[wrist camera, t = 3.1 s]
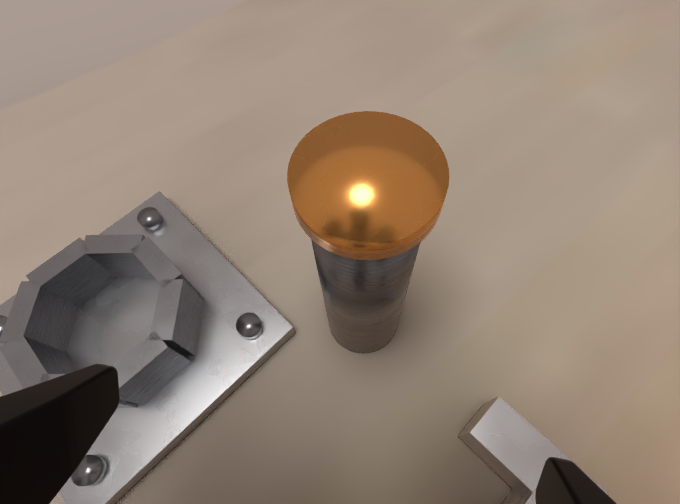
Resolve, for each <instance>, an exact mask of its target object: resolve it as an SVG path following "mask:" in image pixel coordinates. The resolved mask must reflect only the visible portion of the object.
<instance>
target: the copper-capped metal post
mask: <svg viewBox="0 0 680 504" xmlns="http://www.w3.org/2000/svg"><path fill="white" fill-rule="evenodd" d="M287 181H288V187H289V192H290V196H291V200H292V204H293V208H294V212H295V214H296V217H297V220H298V222H299V224H300V226H301V227H302V229H303V230H304V231H305V233H306V234H307V235H308V236H309V237H310V238H311V240H312V245H313V250H314V255H315V259H316V264H317V269H318V274H319V278H320V283H321V288H322V293H323V297H324V302H325V307H326V312H327V317H328V321H329V326H330V330H331V333H332V335H333V336H334V338H335V339H336V341H337V342H338V343H339V344H340V345H341V346H343V347H344V348H346V349H348V350H350V351H353V352H357V353H370V352H374V351H377V350H379V349H381V348H383V347H384V346H385V345H386V344H388V343H389V341H390V340H391V339H392V337H393V336H394V333H395V331H396V328H397V324H398V320H399V317H400V313H401V310H402V306H403V302H404V299H405V295H406V292H407V288H408V284H409V281H410V277H411V274H412V270H413V267H414V263H415V259H416V256H417V252H418V249H419V245H420V242H421V241H422V240H423V239H424V238H425V237H426V236H427V235H428V234H429V233H430V232H431V230H432V229H433V227H434V225H435V224H436V222H437V220H438V217H439V215H440V212H441V209H442V206H443V202H444V199H445V196H446V193H447V189H448V185H449V168H448V164H447V160H446V158H445V155H444V153H443V151H442V149H441V147H440V146H439V144H438V143H437V142H436V140H435V139H434V138H433V137H432V136H431V135H430V134H429V133H428V132H427V131H425V130H424V129H423V128H421V127H420V126H418V125H417V124H415V123H413V122H412V121H409V120H407V119H405V118H402V117H399V116H396V115H393V114H388V113H383V112H369V111H364V112H354V113H348V114H344V115H340V116H337V117H334V118H332V119H329V120H327V121H325V122H323V123H321V124H320V125H318V126H317V127H315V128H314V129H312V130H311V131H310V132H309V133H308V134H307V135H305V137H304V138H303V139H302V140H301V141H300V142H299V144H298V145H297V147H296V148H295V150H294V152H293V154H292V156H291V159H290V162H289V166H288V172H287Z"/></svg>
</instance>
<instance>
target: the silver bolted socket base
mask: <svg viewBox="0 0 680 504" xmlns="http://www.w3.org/2000/svg"><path fill="white" fill-rule="evenodd" d="M26 276H27V278H28V279H29V281H27V282H21V284H20V286H19V289H18V292H17V294H16V295H14V296H13V297H11V298H10V299H9V300H7V301H6V302H4V303H3V304H2V305H0V391H1V393H2V395H3V396H4V395H7V394H10V393H13V392H16V391H19V390H21V389H24V388H27V387H30V386H33V385H36V384H39V383H42V382H45V381H47V380H50V379H53V378H56V377H59V376H62V375H65V374H68V373H71V372H74V371H76V370H79V369H82V368H85V367H88V366H91V365H94V364H104V365H109V366H113V367H115V368H116V369H117V371H118V380H119V393H120V400H119V404H118V407H117V409H116V411H115V412H114V414H113V415H112V417H111V418H110V420H109V421H108V423H107V424H106V426H105V427H104V429H103V430H102V432H101V433H100V435H99V436H98V438H97V439H96V441H95V442H94V444H93V445H92V447H91V448H90V450H89V451H88V453H87V454H86V456H85V457H84V459H83V460H82V461H81V463H80V464H79V466H78V467H77V469H76V470H75V471H74V473H73V474H72V476H71V477H70V478H69V479H68V481H67V482H66V483H65V485H64V486H63V487H62V488H61V490H60V491H59V493H60V495H61V496H62V498H63V500H64V502H65V503H66V504H115V503H116V502H117V501H118V500H119V499H120V498H121V497H123V496H124V495H125V494H126V493H127V492H128V491H129V490H130V489H131V488H132V487H133V486H134V485H135V484H136V483H137V482H138V481H139V480H140V479H142V478H143V477H144V476H145V475H146V474H147V473H148V472H149V471H150V470H151V469H152V468H153V467H154V466H155V465H156V464H157V463H158V462H160V461H161V460H162V459H163V458H164V457H165V456H166V455H167V454H168V453H169V452H170V451H171V450H172V449H173V448H174V447H175V446H176V445H177V444H179V443H180V442H181V441H182V440H183V439H184V438H185V437H186V436H187V435H188V434H189V433H190V432H191V431H192V430H193V429H194V428H195V427H196V426H198V425H199V424H200V423H201V422H202V421H203V420H204V419H205V418H206V417H207V416H208V415H209V414H210V413H211V412H212V411H213V410H214V409H216V408H217V407H218V406H219V405H220V404H221V403H222V402H223V401H224V400H225V399H226V398H227V397H228V396H229V395H230V394H231V393H232V392H233V391H235V390H236V389H237V388H238V387H239V386H240V385H241V384H242V383H243V382H244V381H245V380H246V379H247V378H248V377H249V376H250V375H251V374H252V373H254V372H255V371H256V370H257V369H258V368H259V367H260V366H261V365H262V364H263V363H264V362H265V361H266V360H267V359H268V358H269V357H270V356H272V355H273V354H274V353H275V352H276V351H277V350H278V349H279V348H280V347H281V346H282V345H283V344H284V343H285V342H286V341H287V340H288V339H289V338H291V337H292V336H293V335H294V334H295V331H294V329H293V327H292V326H291V325H290V324H289V323H288V322H287V321H286V320H285V319H284V318H283V317H282V316H281V315H280V314H279V313H278V312H277V311H276V309H275V308H274V307H273V306H272V305H271V304H270V303H269V302H268V301H267V300H266V299H265V298H264V297H263V296H262V295H261V294H260V293H259V292H258V291H257V290H256V289H255V288H254V287H253V286H252V285H251V284H250V283H249V282H248V281H247V280H246V279H245V278H244V277H243V276H242V275H241V274H240V273H239V272H238V271H237V270H236V269H235V268H234V267H233V266H232V265H231V264H230V262H229V261H228V260H227V259H226V258H225V257H224V256H223V255H222V254H221V253H220V252H219V251H218V250H217V249H216V248H215V247H214V246H213V245H212V244H211V243H210V242H209V241H208V240H207V239H206V238H205V237H204V236H203V235H202V234H201V233H200V232H199V231H198V230H197V229H196V228H195V227H194V226H193V225H192V224H191V223H190V222H189V221H188V220H187V219H186V218H185V217H184V215H183V214H182V213H181V212H180V211H179V210H178V209H177V208H176V207H175V206H174V205H173V204H172V203H171V202H170V201H169V200H168V199H167V198H166V197H165V196H164V195H163V194H162V193H161V192H160V191H159V192H158V193H156V194H155V195H153V196H152V197H151V198H149V199H148V200H146V201H145V202H144V203H142V204H141V205H139V206H138V207H137V208H135V209H134V210H132V211H131V212H130V213H128V214H127V215H126V216H124V217H123V218H121V219H120V220H119V221H117V222H116V223H114V224H113V225H112V226H110V227H109V228H107V229H106V230H105V231H103V232H102V233H100V234H99V235H86V238H85V241H83V240H82V239H81V238H78V239H77V240H76V241H74V242H73V243H71V244H70V245H68V246H67V247H66V248H64V249H63V250H61V251H60V252H59V253H57V254H56V255H54V256H53V257H52V258H50V259H49V260H47V261H46V262H45V263H43V264H42V265H40V266H39V267H37V268H36V269H35V270H33V271H32V272H30V273H29V274H28V275H26Z"/></svg>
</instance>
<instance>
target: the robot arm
mask: <svg viewBox="0 0 680 504" xmlns="http://www.w3.org/2000/svg"><path fill="white" fill-rule="evenodd" d="M119 400H120V393H119V380H118V371H117V369H116V368H115V367H113V366H109V365H104V364H94V365H91V366H88V367H85V368H82V369H79V370H76V371H74V372H71V373H68V374H65V375H62V376H59V377H56V378H53V379H50V380H47V381H45V382H42V383H39V384H36V385H33V386H30V387H27V388H24V389H21V390H19V391H16V392H13V393H10V394H7V395H4V396H1V397H0V504H49V503H50V502H51V501H52V500H53V498H54V497H55V496H56V495H57V493H58V492H59V491H60V490H61V488H62V487H63V486H64V485H65V483H66V482H67V481H68V479H69V478H70V477H71V476H72V474H73V473H74V471H75V470H76V469H77V467H78V466H79V464H80V463H81V461H82V460H83V459H84V457H85V456H86V454H87V453H88V451H89V450H90V448H91V447H92V445H93V444H94V442H95V441H96V439H97V438H98V436H99V435H100V433H101V432H102V430H103V429H104V427H105V426H106V424H107V423H108V421H109V420H110V418H111V417H112V415H113V414H114V412H115V411H116V409H117V407H118V404H119ZM535 499H536V504H616V503H615V502H614V501H613V500H612V499H611V498H610V497H609V496H608V495H607V494H606V493H605V492H604V491H603V490H602V489H601V488H600V487H599V486H598V485H597V484H596V483H595V482H594V481H592V480H591V479H590V478H589V477H588V476H587V475H586V474H585V473H584V472H583V471H582V470H581V469H580V468H579V467H578V466H577V465H576V464H575V463H574V462H572V461H570V460H566V459H561V458H557V457H549V458H548V459H547V460H546V462H545V464H544V467H543V470H542V473H541V476H540V479H539V482H538V484H537V488H536V494H535Z"/></svg>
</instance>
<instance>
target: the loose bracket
mask: <svg viewBox="0 0 680 504" xmlns="http://www.w3.org/2000/svg"><path fill="white" fill-rule="evenodd" d="M458 437H459V438H460V439H461V440H462V441H463V442H464V443H465V444H467V445H468V446H469V447H470V448H471V449H472V450H473V451H474V452H475V453H476V454H477V455H478V456H479V457H480V458H481V459H482V460H483V461H484V462H485V463H486V464H487V465H488V466H489V467H490V468H491V469H493V470H494V471H495V472H496V473H497V474H498V475H499V476H500V477H501V478H502V479H503V480H504V481H505V482H506V483H507V484H508V485H509V486H510V487H511V488H512V491H511V492H510V493H509V495H508V496H507V497H506V499H505V500H504V502H503V503H502V504H536V499H535V494H536V488H537V484H538V482H539V479H540V476H541V473H542V470H543V467H544V464H545V462H546V460H547V459H548V458H549V457H557V458H561V459H566V460H570V461H572V460H571V459H569V458H568V457H567V456H566V455H565V454H564V453H563V452H561V451H560V450H559V449H558V448H557V447H556V446H555V445H554V444H552V443H551V442H550V441H549V440H548V439H547V438H546V437H544V436H543V435H542V434H541V433H540V432H539V431H538V430H537V429H535V428H534V427H533V426H532V425H531V424H530V423H529V422H527V421H526V420H525V419H524V418H523V417H522V416H521V415H520V414H518V413H517V412H516V411H515V410H514V409H513V408H512V407H510V406H509V405H508V404H507V403H506V402H505V401H504V400H503V399H501V398H500V397H497V398H495V399H492V400H490V401H488V402H486V403H484V404H483V405H482V407H481V408H480V409H479V410H478V412H477V413H476V414H475V415H474V416H473V418H472V419H471V420H470V421H469V423H468V424H467V425H466V426H465V428H464V429H463V430H462V431H461V433H460V434H459V435H458ZM572 462H573V461H572ZM579 468H580V467H579ZM580 469H581V468H580ZM581 470H582V469H581ZM582 471H583V470H582ZM583 472H584V471H583ZM584 473H585V472H584ZM585 474H586V473H585ZM586 475H587V476H588V477H589V478H590V479H591V480H592V481H594V480H593V479H592V478H591V477H590V476H589V475H588V474H586ZM594 482H595V481H594ZM595 483H596V484H597V485H598V486H599V487H600V488H601V489H602V490H603V491H604V492H605V493H606V494H607V493H608V492H607V491H606V490H605V489H603V488H602V487H601V486H600V485H599V484H598V483H597V482H595Z"/></svg>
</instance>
